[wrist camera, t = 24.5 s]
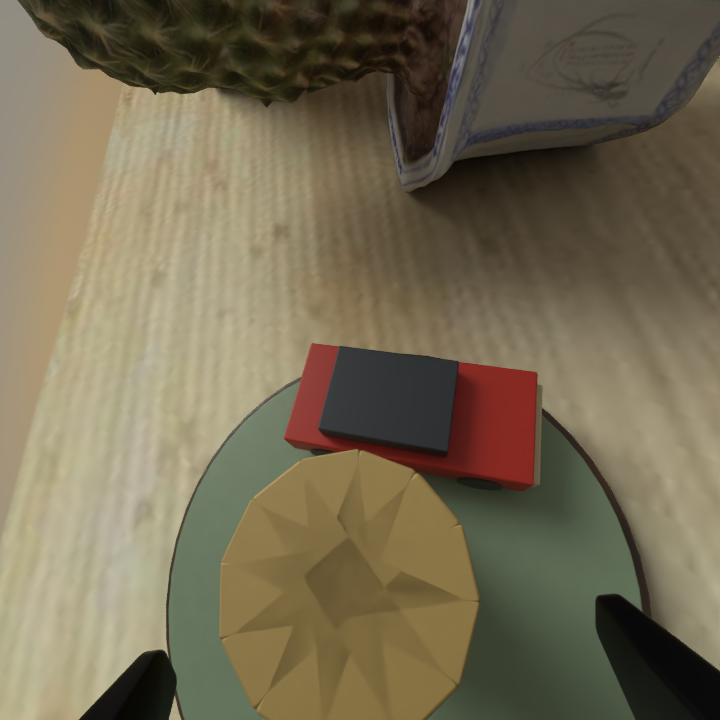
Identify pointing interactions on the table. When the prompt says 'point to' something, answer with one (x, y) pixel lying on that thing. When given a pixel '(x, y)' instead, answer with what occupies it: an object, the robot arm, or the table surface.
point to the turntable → (398, 554)
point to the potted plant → (417, 62)
